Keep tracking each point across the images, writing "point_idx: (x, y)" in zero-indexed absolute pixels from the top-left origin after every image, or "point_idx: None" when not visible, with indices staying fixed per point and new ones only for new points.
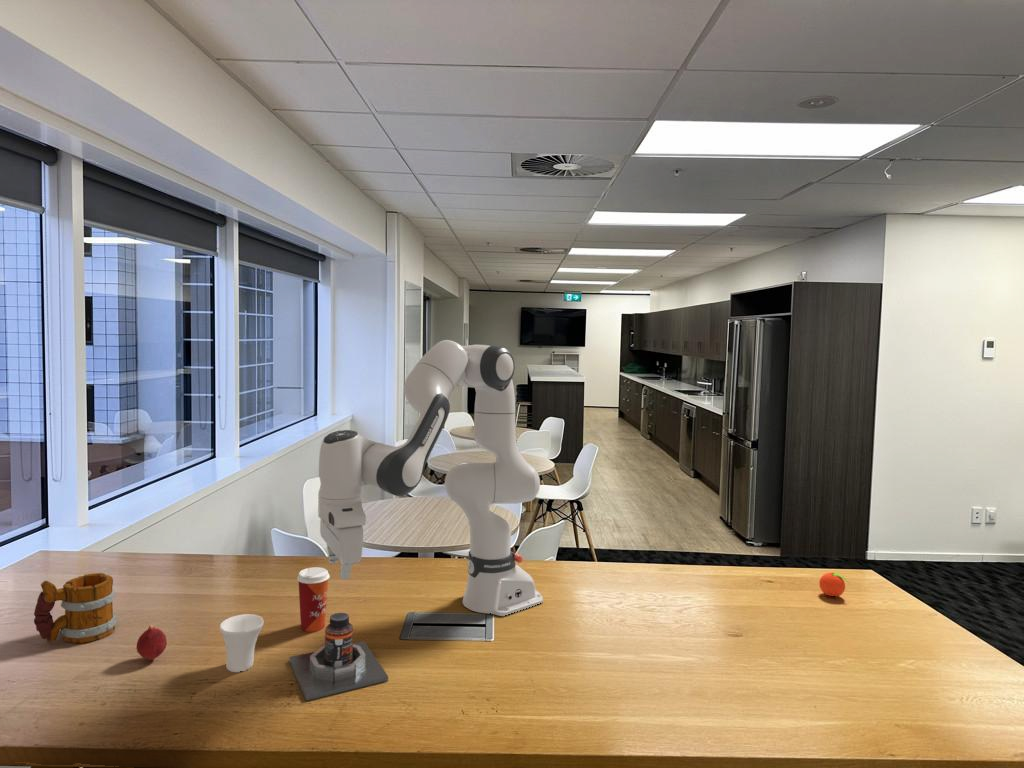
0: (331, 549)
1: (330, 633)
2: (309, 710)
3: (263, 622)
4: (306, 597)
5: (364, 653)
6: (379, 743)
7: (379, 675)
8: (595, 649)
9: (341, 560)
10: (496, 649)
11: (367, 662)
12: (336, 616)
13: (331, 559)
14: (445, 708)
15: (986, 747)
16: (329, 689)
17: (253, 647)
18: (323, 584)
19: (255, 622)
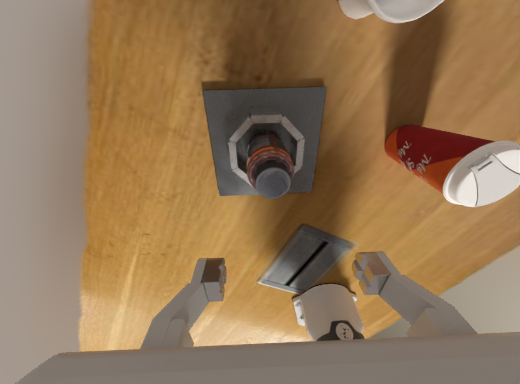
0: (308, 347)
1: (256, 156)
2: (180, 89)
3: (388, 20)
4: (439, 146)
5: None
6: (97, 154)
7: (225, 188)
8: (215, 322)
9: (42, 381)
10: (241, 280)
11: None
12: (274, 179)
13: (366, 267)
14: (154, 224)
15: None
16: (211, 126)
17: (360, 6)
18: (439, 185)
19: (418, 3)
